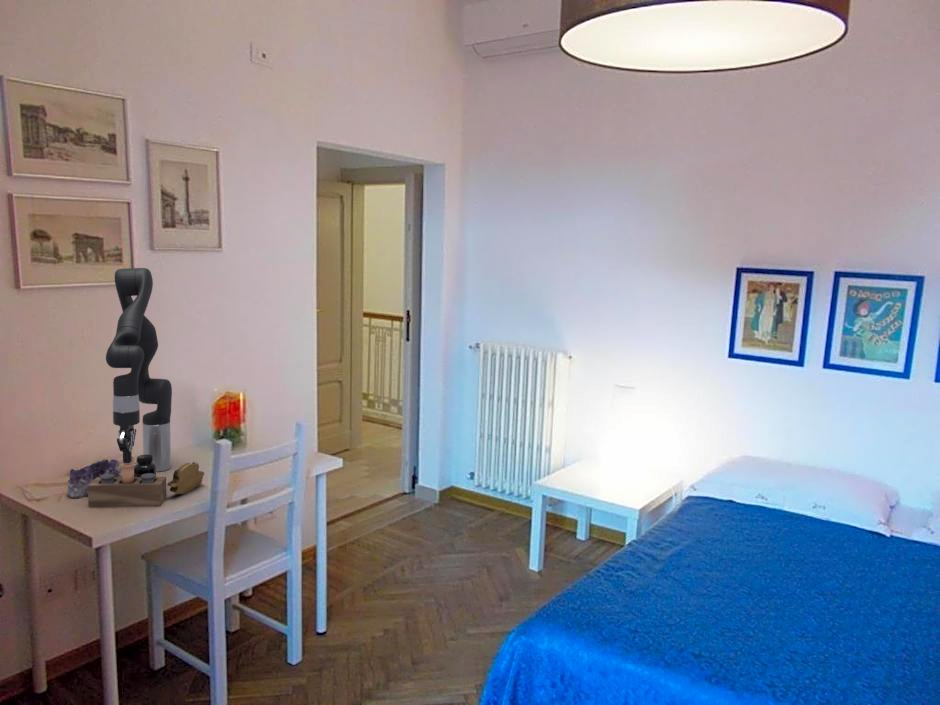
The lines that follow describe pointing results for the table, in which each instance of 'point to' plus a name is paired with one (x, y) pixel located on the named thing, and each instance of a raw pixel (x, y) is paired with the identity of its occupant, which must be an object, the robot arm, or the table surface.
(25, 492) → the table surface
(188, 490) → the wooden carving
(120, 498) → the walnut socket block
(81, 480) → the geode
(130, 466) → the terracotta plug
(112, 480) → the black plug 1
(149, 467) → the supplement bottle
